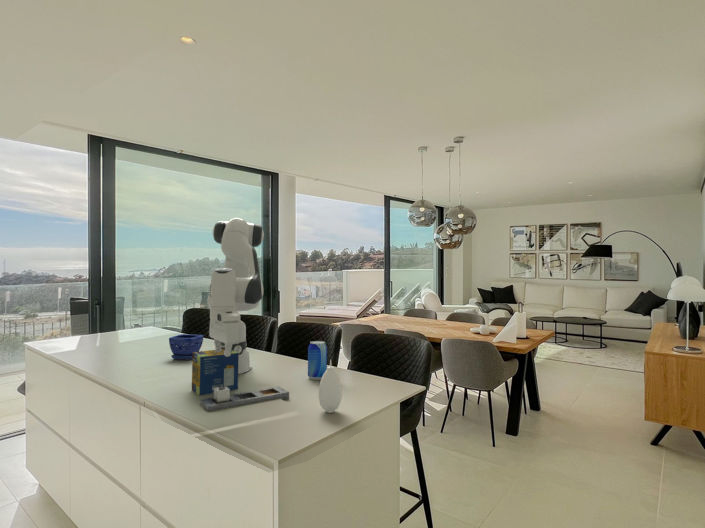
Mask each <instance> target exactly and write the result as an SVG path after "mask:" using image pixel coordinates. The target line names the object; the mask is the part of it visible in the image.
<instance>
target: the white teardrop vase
mask: <svg viewBox="0 0 705 528" xmlns="http://www.w3.org/2000/svg"><path fill="white" fill-rule="evenodd" d="M342 393H343V388H342V384H341V380H340V377H339V374H338V372H337V371H336V370H335V366H333V365H332V359H330V362H329V366H327V370H326V371H325V373H324V374H323V377H322V379H321V380H320V382H319V385H318V401H319V404H320V407H321V409H323V410H324V412H325V413H328V414H333V413H334V412H336V410H338V408H339V406H340V404H341V402H342V396H343V395H342Z"/></svg>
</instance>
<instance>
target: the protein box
mask: <svg viewBox="0 0 705 528" xmlns="http://www.w3.org/2000/svg"><path fill="white" fill-rule="evenodd" d="M224 351H225V349H221V352H216V351H215V349H210V350H209V349H208V350H201V351H200V350H199V352H192V359H191V363H192V364H191V365H192V367H191V392H192V391H193V393H195V394H196V395H198V396H203V395H209V394H214V388H218V387H225V386H226V387H227V388H229V389H230V391H233V390H238V389H239V374H238V361H239V353H237V352H235V351H234V350H232V349H231V355H230V356H227V357H226V356H224Z"/></svg>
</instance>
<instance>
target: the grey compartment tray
mask: <svg viewBox="0 0 705 528" xmlns="http://www.w3.org/2000/svg"><path fill="white" fill-rule="evenodd" d="M276 399H277V400H278V399H280V400H282V401H284V400H289V399H290V391H288V390H286V389H284V388H283V387H280V386H279V385H278V386H273V387H266V388H261V389H256V390H255V389H254V390H249V391H244V392H243V391H242V392H238V393H237V392H236V393H233V394H231V393H230V402H225V403H219V404H215V403H214V397H210V398H209V397H208V398H204V399H200V401H199V402H200V403H199V404H200V406H202V408H203V409H204V410H206V412H213V411H218V410H219V411H220V410H224V409H228V408H230V409H231V408H233V407H234V408H235V407H240V406H244V405H245V406H246V405H251V404H255V403H256V404H257V403H261V402H265V401H272V400H276Z"/></svg>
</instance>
